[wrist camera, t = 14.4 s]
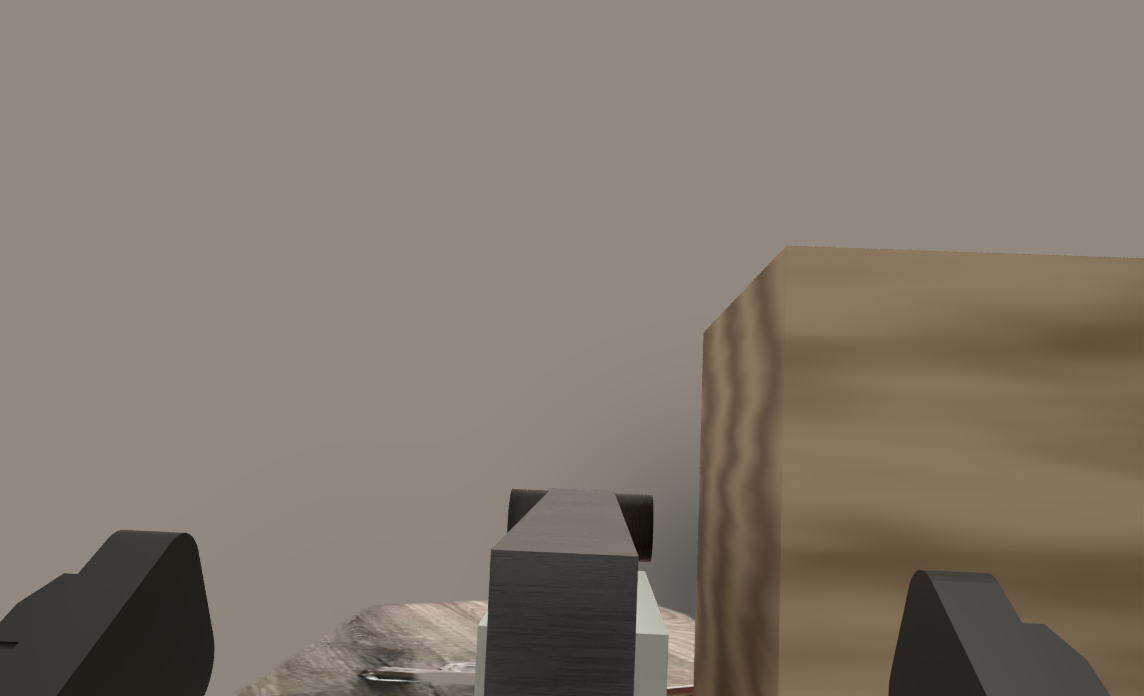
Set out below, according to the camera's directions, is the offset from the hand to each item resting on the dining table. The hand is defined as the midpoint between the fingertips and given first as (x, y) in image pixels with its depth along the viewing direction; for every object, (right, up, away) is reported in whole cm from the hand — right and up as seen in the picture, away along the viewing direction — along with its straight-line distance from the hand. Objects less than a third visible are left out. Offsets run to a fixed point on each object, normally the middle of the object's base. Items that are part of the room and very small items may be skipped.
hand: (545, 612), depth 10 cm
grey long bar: (0, -5, +19) cm, 19 cm away
